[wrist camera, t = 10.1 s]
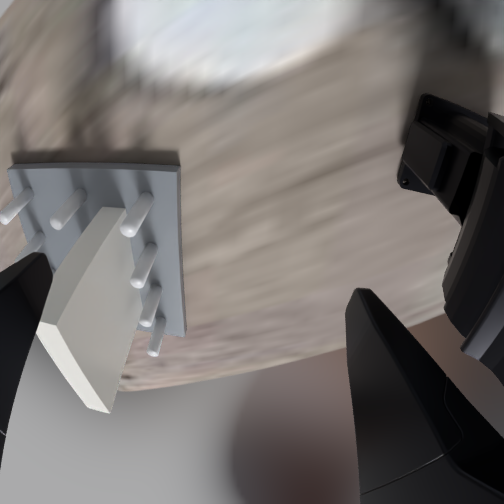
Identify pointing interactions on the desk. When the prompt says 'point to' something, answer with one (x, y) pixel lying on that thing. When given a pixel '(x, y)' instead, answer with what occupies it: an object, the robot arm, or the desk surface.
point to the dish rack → (134, 226)
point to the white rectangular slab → (93, 310)
